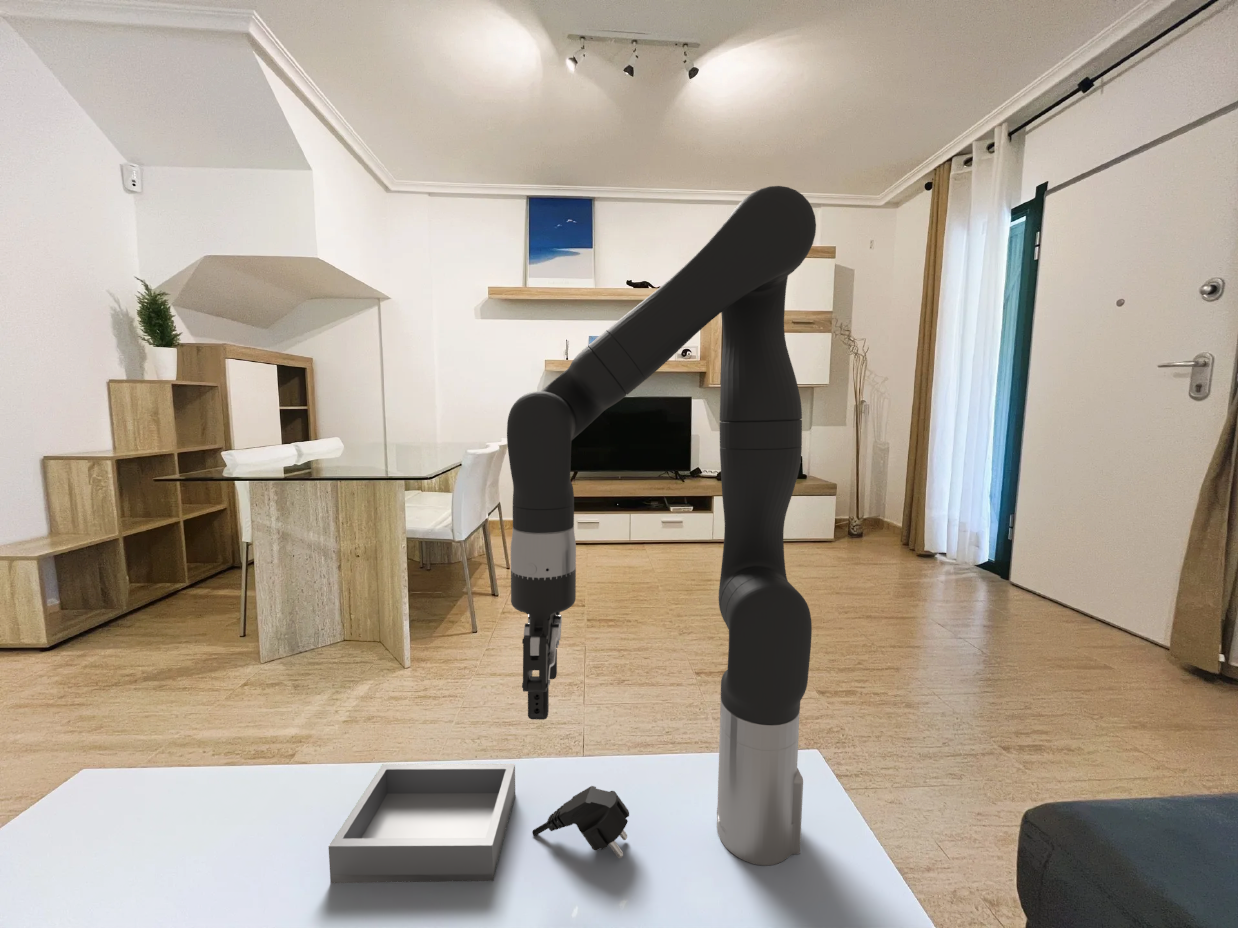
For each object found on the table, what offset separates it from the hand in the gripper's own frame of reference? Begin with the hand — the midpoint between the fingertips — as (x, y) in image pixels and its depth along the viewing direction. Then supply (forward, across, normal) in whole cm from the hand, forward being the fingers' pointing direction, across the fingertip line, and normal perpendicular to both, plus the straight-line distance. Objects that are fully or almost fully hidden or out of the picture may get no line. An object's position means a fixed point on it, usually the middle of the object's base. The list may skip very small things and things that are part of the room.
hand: (543, 696), depth 60 cm
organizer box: (+18, 0, +14) cm, 23 cm away
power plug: (+21, 0, 0) cm, 21 cm away
